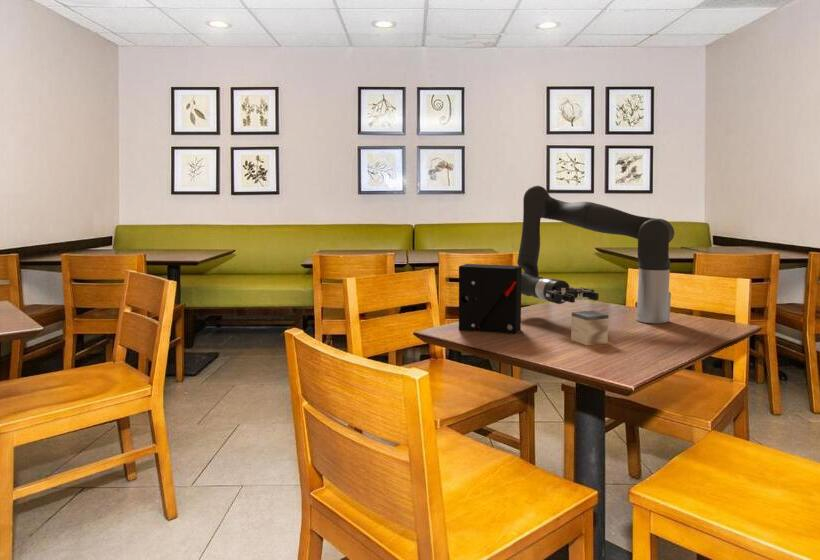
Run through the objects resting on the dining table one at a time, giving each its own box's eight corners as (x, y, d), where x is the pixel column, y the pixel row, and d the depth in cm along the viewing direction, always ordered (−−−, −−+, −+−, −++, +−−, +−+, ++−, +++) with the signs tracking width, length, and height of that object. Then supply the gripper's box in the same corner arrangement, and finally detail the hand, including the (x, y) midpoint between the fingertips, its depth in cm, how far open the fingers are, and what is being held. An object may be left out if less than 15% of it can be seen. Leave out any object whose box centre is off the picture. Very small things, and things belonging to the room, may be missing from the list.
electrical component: (522, 328, 172) (523, 265, 170) (514, 336, 163) (515, 268, 160) (468, 324, 180) (469, 263, 177) (458, 330, 170) (458, 266, 168)
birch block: (608, 315, 153) (607, 343, 154) (592, 310, 159) (591, 337, 160) (587, 316, 150) (586, 345, 151) (571, 312, 157) (571, 339, 158)
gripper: (533, 280, 174) (566, 287, 159) (570, 277, 180) (605, 283, 165) (533, 303, 175) (565, 312, 160) (570, 300, 181) (604, 308, 166)
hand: (585, 298), depth 163 cm, fingers open, 8 cm apart
